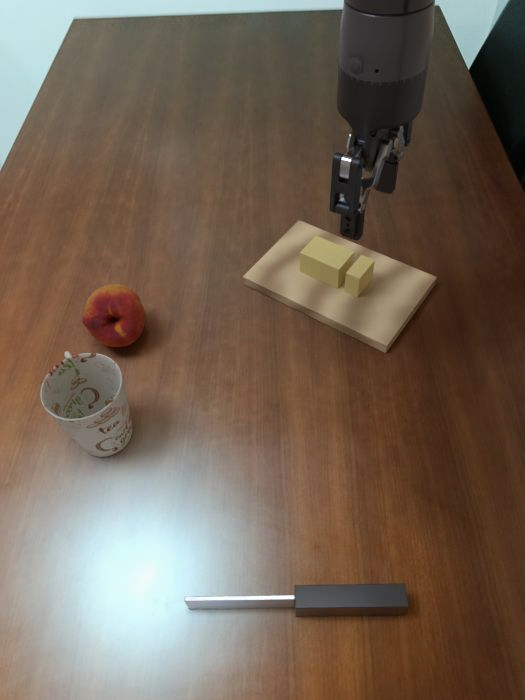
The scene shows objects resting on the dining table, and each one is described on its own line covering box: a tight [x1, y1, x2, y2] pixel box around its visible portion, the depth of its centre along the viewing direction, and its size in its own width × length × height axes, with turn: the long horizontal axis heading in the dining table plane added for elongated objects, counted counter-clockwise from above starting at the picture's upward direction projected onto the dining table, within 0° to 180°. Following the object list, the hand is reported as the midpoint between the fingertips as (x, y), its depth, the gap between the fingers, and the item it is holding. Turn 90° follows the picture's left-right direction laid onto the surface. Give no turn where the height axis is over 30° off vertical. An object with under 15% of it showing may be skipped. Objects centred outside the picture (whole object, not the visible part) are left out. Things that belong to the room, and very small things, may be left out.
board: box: [242, 219, 437, 354], centre depth 79 cm, size 22×14×2 cm, turn 55°
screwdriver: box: [183, 583, 409, 618], centre depth 53 cm, size 20×2×3 cm, turn 90°
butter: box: [300, 236, 354, 288], centre depth 78 cm, size 6×4×4 cm, turn 55°
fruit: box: [81, 283, 146, 348], centre depth 73 cm, size 8×8×8 cm
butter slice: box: [344, 255, 375, 297], centre depth 76 cm, size 2×4×4 cm, turn 145°
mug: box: [39, 350, 134, 458], centre depth 64 cm, size 8×13×10 cm, turn 33°
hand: (368, 212), depth 61 cm, fingers open, 8 cm apart
